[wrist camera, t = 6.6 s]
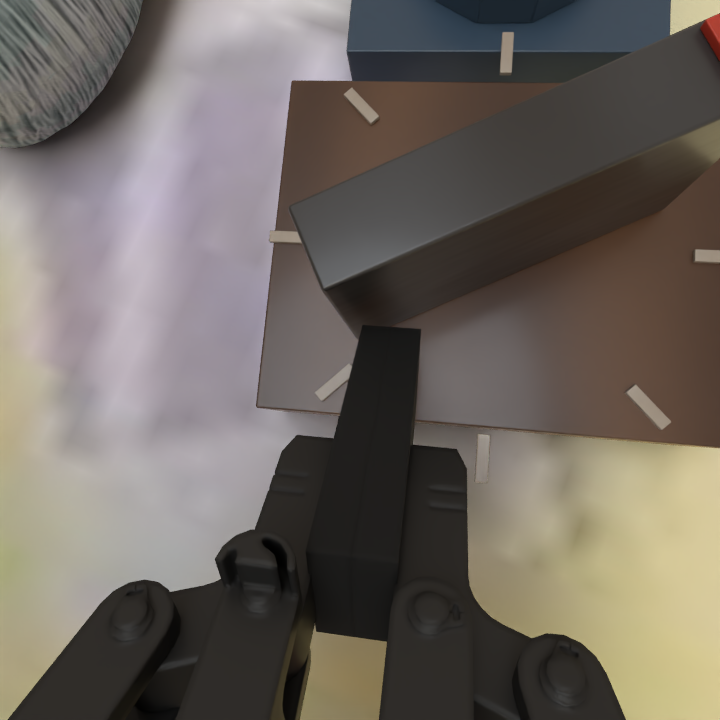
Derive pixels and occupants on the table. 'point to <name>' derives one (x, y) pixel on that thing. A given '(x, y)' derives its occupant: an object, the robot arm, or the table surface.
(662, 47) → the pointer
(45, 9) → the grey striped ovoid
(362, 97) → the dial console
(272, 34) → the table surface
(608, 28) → the buzzer
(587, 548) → the table surface
